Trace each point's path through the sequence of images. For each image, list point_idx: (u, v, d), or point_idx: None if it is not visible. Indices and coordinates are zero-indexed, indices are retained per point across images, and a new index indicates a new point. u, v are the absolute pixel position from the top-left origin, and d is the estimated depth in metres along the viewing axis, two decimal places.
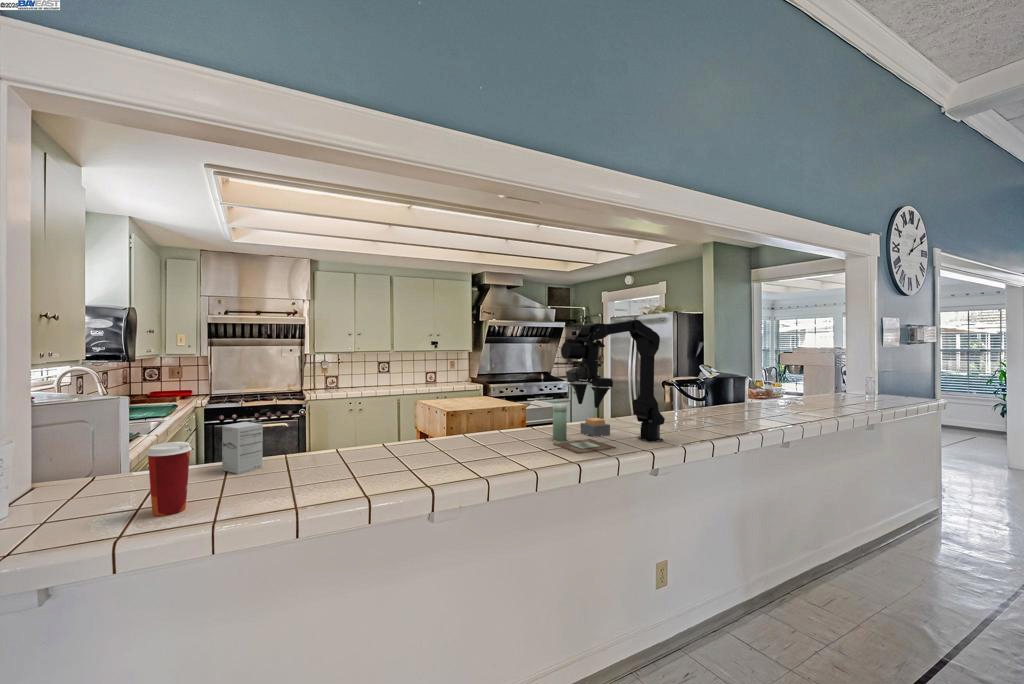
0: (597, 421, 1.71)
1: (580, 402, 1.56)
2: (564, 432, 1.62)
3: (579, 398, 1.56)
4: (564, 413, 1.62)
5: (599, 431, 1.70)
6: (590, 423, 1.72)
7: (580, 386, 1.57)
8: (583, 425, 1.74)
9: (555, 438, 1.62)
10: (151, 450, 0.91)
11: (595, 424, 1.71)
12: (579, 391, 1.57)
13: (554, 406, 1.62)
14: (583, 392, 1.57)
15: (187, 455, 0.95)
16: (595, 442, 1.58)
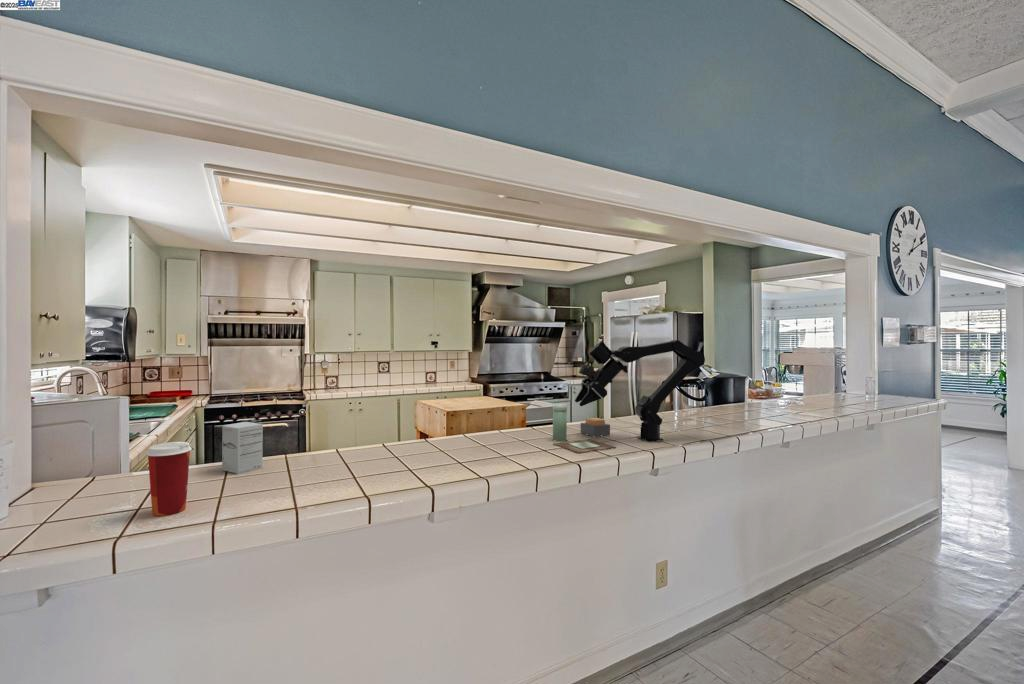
0: (597, 421, 1.71)
1: (576, 400, 1.68)
2: (564, 432, 1.62)
3: (578, 397, 1.68)
4: (564, 413, 1.62)
5: (599, 431, 1.70)
6: (590, 423, 1.72)
7: (587, 390, 1.69)
8: (583, 425, 1.74)
9: (555, 438, 1.62)
10: (151, 450, 0.91)
11: (595, 424, 1.71)
12: (583, 393, 1.69)
13: (554, 406, 1.62)
14: (585, 396, 1.69)
15: (187, 455, 0.95)
16: (595, 442, 1.58)
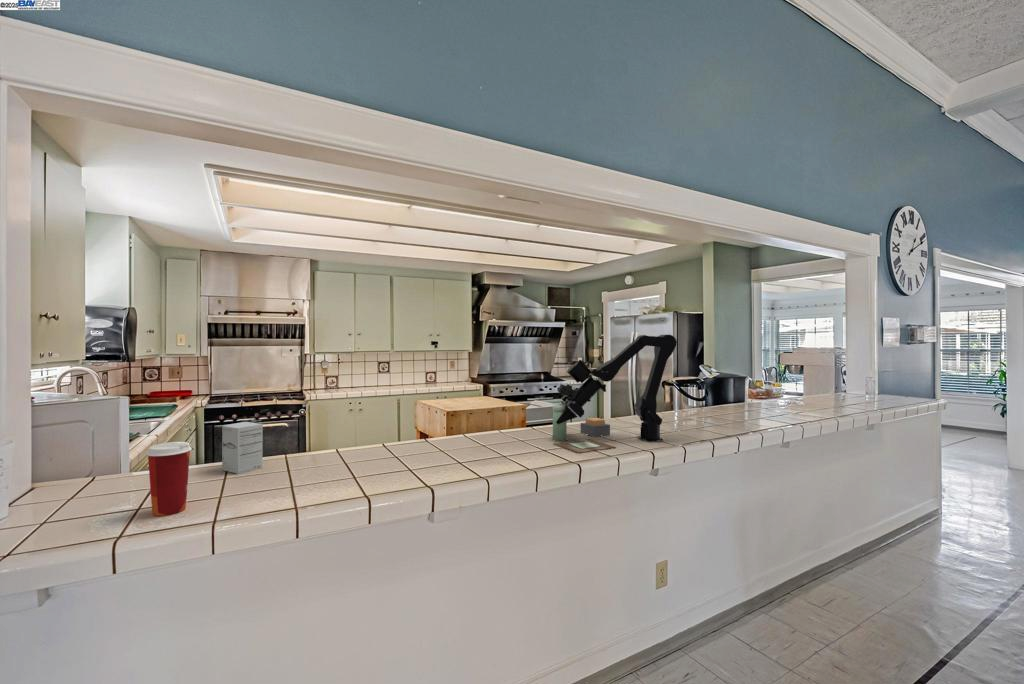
0: (597, 421, 1.71)
1: None
2: (564, 432, 1.62)
3: None
4: None
5: (599, 431, 1.70)
6: (590, 423, 1.72)
7: None
8: (583, 425, 1.74)
9: (555, 438, 1.62)
10: (151, 450, 0.91)
11: (595, 424, 1.71)
12: None
13: (554, 406, 1.62)
14: None
15: (187, 455, 0.95)
16: (595, 442, 1.58)
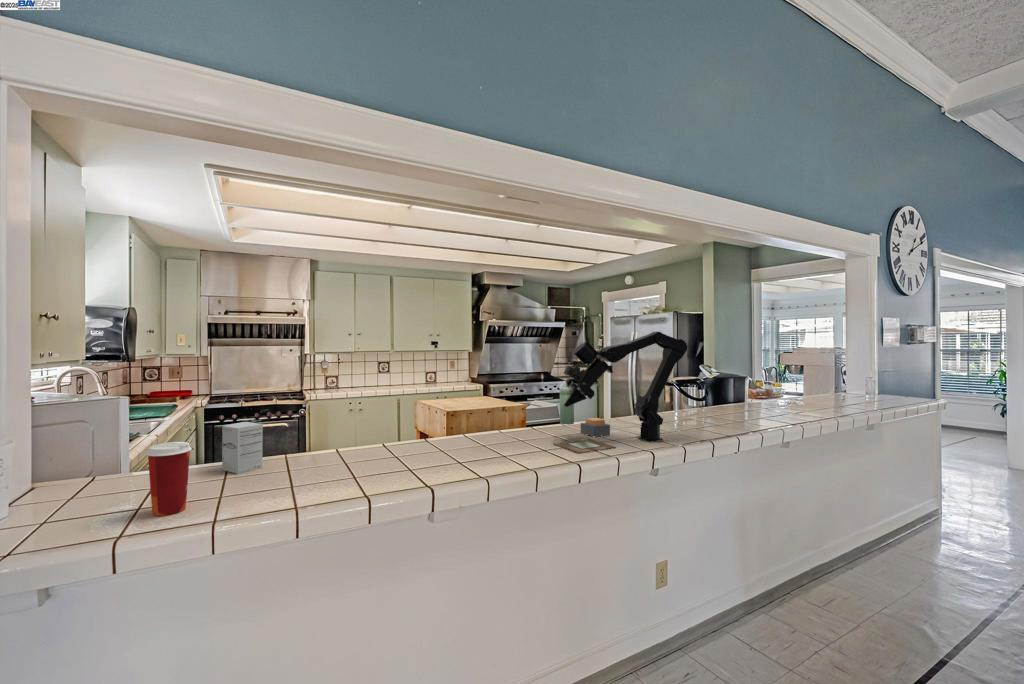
0: (597, 421, 1.71)
1: None
2: (572, 414, 1.59)
3: None
4: None
5: (599, 431, 1.70)
6: (590, 423, 1.72)
7: None
8: (583, 425, 1.74)
9: (563, 421, 1.58)
10: (151, 450, 0.91)
11: (595, 424, 1.71)
12: None
13: (561, 388, 1.58)
14: None
15: (187, 455, 0.95)
16: (595, 442, 1.58)
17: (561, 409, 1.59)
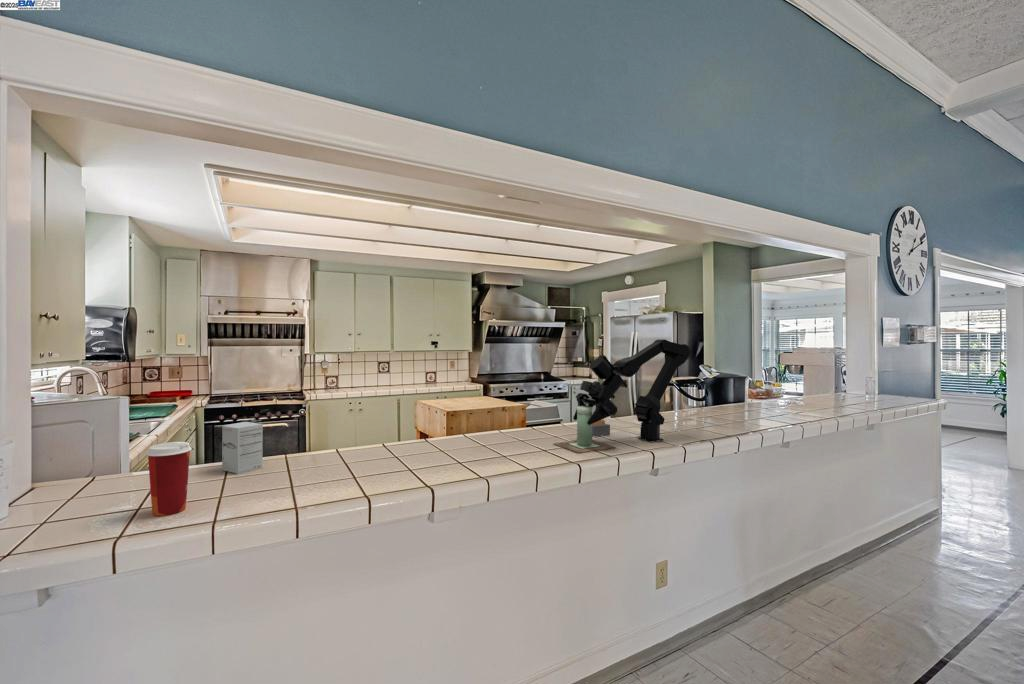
0: (597, 421, 1.71)
1: (575, 418, 1.58)
2: (591, 436, 1.53)
3: (576, 414, 1.58)
4: None
5: (599, 431, 1.70)
6: None
7: None
8: None
9: (582, 443, 1.52)
10: (151, 450, 0.91)
11: (595, 424, 1.71)
12: None
13: (581, 409, 1.52)
14: None
15: (187, 455, 0.95)
16: (595, 442, 1.58)
17: (580, 430, 1.52)
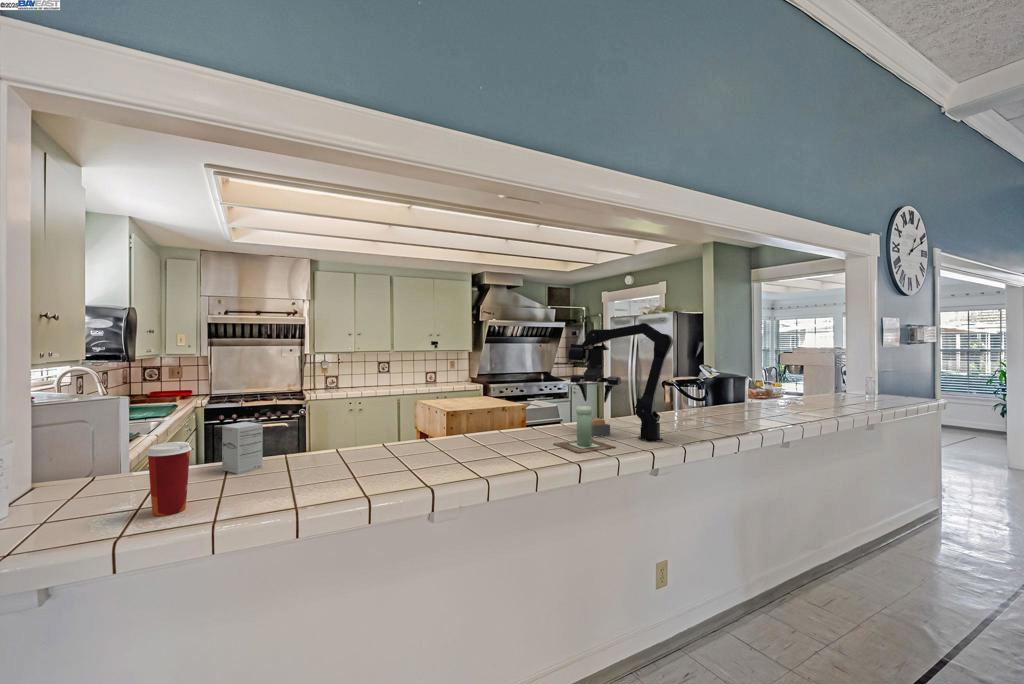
0: (597, 421, 1.71)
1: (586, 399, 1.75)
2: (591, 435, 1.53)
3: (585, 396, 1.75)
4: (590, 416, 1.53)
5: (599, 431, 1.70)
6: None
7: (584, 385, 1.76)
8: None
9: (582, 443, 1.52)
10: (151, 450, 0.91)
11: (595, 424, 1.71)
12: (584, 389, 1.76)
13: (580, 409, 1.52)
14: (586, 390, 1.77)
15: (187, 455, 0.95)
16: (595, 442, 1.58)
17: (579, 430, 1.52)
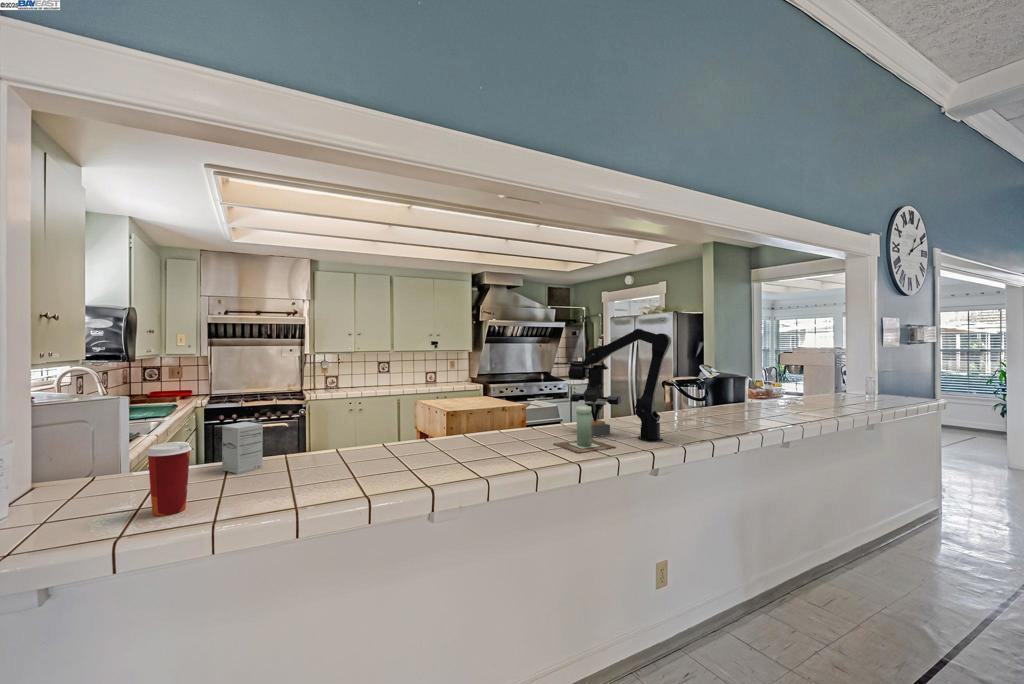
0: (597, 423, 1.71)
1: None
2: (591, 435, 1.53)
3: None
4: (590, 416, 1.53)
5: (599, 431, 1.70)
6: None
7: (593, 404, 1.74)
8: None
9: (582, 443, 1.52)
10: (151, 450, 0.91)
11: None
12: (593, 409, 1.74)
13: (580, 409, 1.52)
14: (595, 410, 1.75)
15: (187, 455, 0.95)
16: (595, 442, 1.58)
17: (579, 431, 1.52)
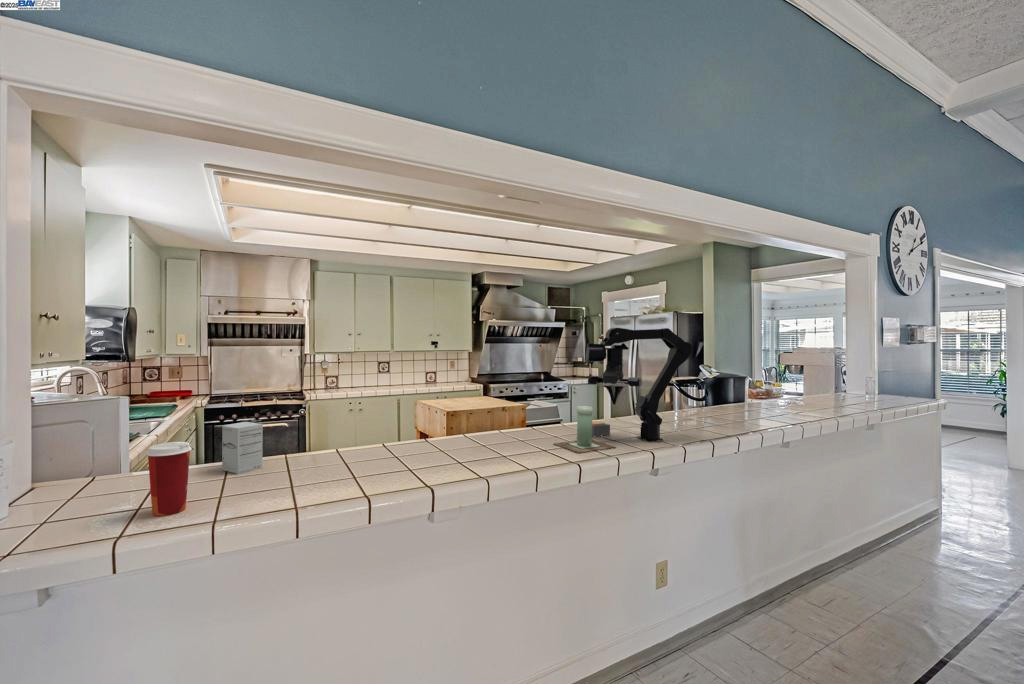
0: (597, 424, 1.71)
1: None
2: (591, 436, 1.53)
3: None
4: (591, 416, 1.52)
5: (599, 431, 1.70)
6: None
7: (612, 387, 1.65)
8: None
9: (582, 443, 1.52)
10: (151, 450, 0.91)
11: None
12: (612, 392, 1.64)
13: (581, 409, 1.52)
14: (614, 392, 1.66)
15: (187, 455, 0.95)
16: (595, 442, 1.58)
17: (579, 430, 1.52)
